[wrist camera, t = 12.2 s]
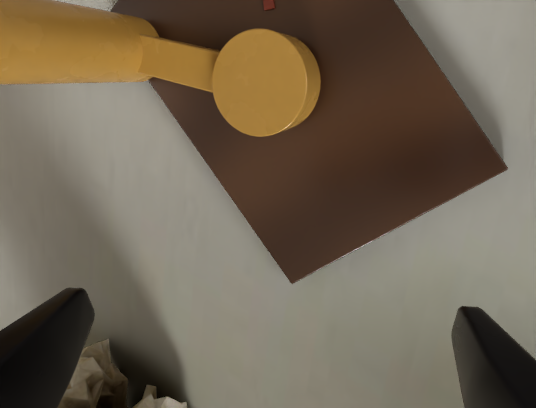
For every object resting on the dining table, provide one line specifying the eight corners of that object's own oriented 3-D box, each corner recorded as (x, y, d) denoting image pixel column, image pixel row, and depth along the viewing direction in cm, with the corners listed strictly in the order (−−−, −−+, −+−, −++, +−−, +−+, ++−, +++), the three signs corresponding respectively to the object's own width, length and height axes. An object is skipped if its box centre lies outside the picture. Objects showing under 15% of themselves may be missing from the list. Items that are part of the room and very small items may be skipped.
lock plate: (505, 164, 17) (509, 170, 16) (297, 276, 23) (290, 286, 22) (270, -180, 17) (260, -196, 16) (116, 20, 23) (102, 18, 22)
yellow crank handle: (331, 43, 17) (196, 0, 7) (308, 141, 19) (173, 211, 9) (110, -2, 21) (-183, -72, 11) (107, 84, 22) (-150, 90, 12)
